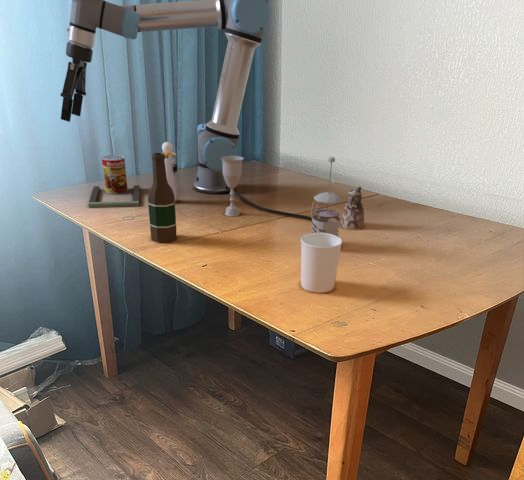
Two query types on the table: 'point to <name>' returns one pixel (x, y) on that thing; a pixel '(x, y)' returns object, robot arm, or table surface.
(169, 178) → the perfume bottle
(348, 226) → the figurine
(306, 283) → the white cup
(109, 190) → the canned food
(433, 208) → the table surface
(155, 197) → the beer bottle
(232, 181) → the chalice
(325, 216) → the french press
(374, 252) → the table surface
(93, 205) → the tray
